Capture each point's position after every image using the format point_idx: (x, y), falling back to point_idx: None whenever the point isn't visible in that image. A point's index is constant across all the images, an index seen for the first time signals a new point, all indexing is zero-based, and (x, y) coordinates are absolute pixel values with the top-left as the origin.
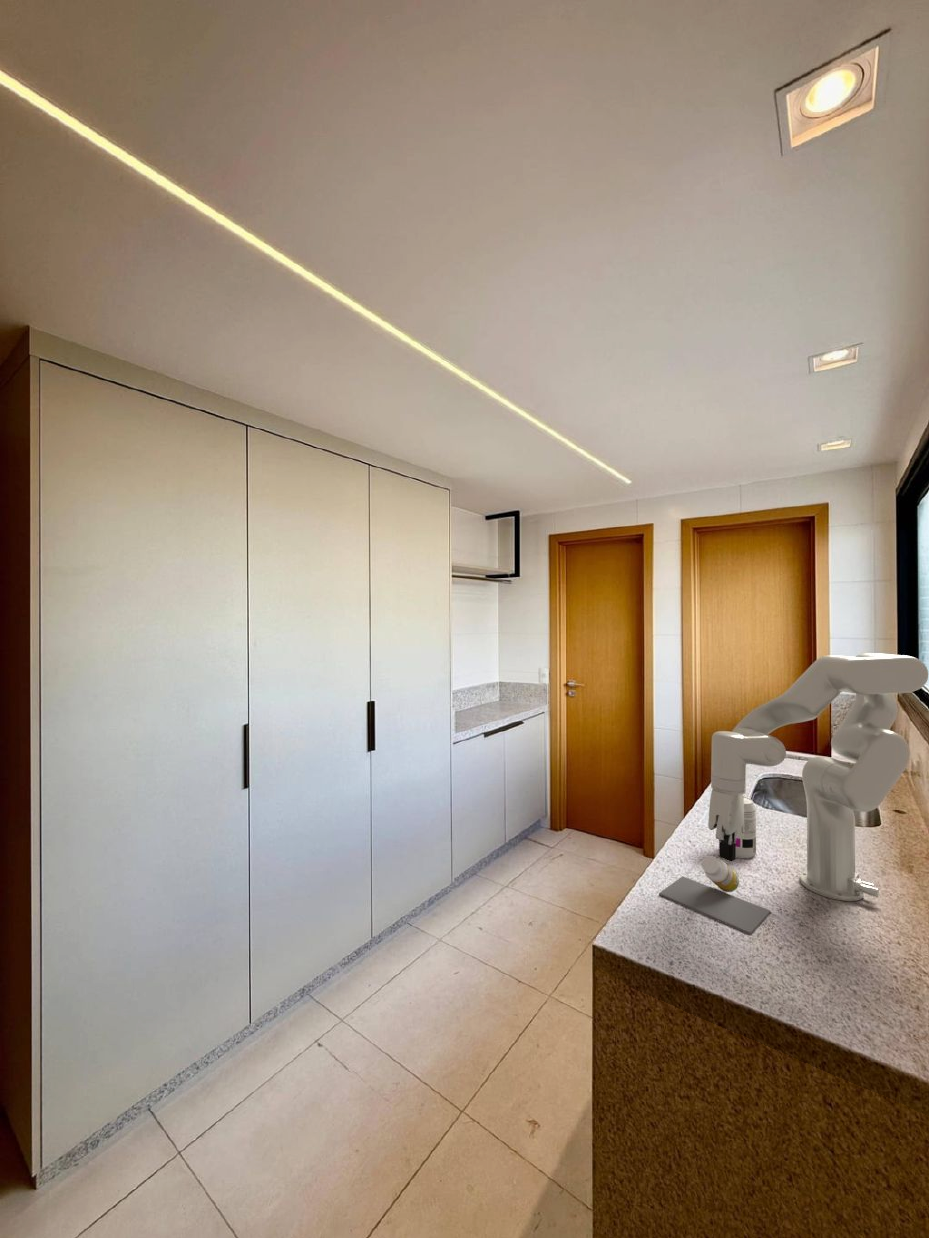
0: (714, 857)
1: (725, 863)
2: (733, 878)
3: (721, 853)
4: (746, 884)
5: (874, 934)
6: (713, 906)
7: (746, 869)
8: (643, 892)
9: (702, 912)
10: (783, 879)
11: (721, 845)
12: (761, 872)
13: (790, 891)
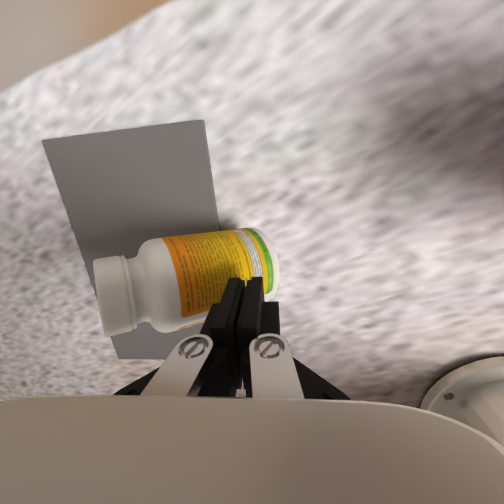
0: (103, 324)
1: (180, 325)
2: None
3: (211, 306)
4: (337, 273)
5: None
6: None
7: (456, 232)
8: (11, 96)
9: (88, 268)
10: (459, 327)
11: (200, 333)
12: (466, 272)
13: (389, 355)
